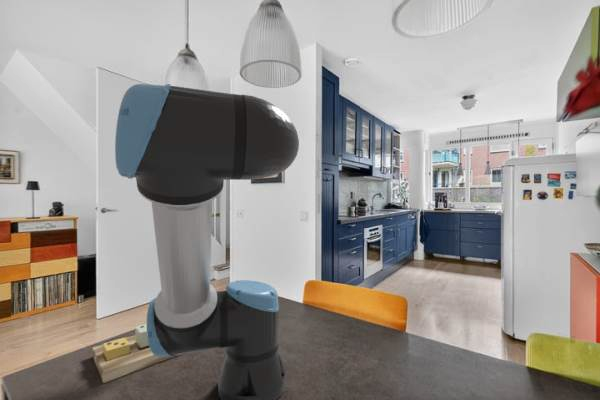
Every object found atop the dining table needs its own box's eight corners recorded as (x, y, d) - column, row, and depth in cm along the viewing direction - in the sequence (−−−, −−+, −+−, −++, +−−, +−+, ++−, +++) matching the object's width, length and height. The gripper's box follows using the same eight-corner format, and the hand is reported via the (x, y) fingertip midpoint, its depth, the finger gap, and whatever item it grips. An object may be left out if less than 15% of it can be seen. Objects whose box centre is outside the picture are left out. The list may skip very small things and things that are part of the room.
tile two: (160, 341, 79) (160, 326, 79) (140, 347, 76) (140, 332, 76) (154, 335, 83) (154, 321, 83) (135, 341, 80) (135, 326, 80)
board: (199, 347, 82) (199, 338, 82) (103, 383, 66) (103, 372, 66) (179, 329, 93) (179, 322, 93) (92, 356, 77) (92, 347, 77)
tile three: (129, 359, 74) (129, 343, 74) (106, 367, 71) (106, 350, 71) (125, 351, 78) (125, 336, 78) (103, 358, 74) (103, 343, 74)
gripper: (216, 194, 82) (216, 276, 81) (195, 195, 91) (195, 270, 90) (191, 193, 77) (190, 281, 76) (171, 195, 86) (170, 274, 85)
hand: (193, 275), depth 83 cm, fingers closed
